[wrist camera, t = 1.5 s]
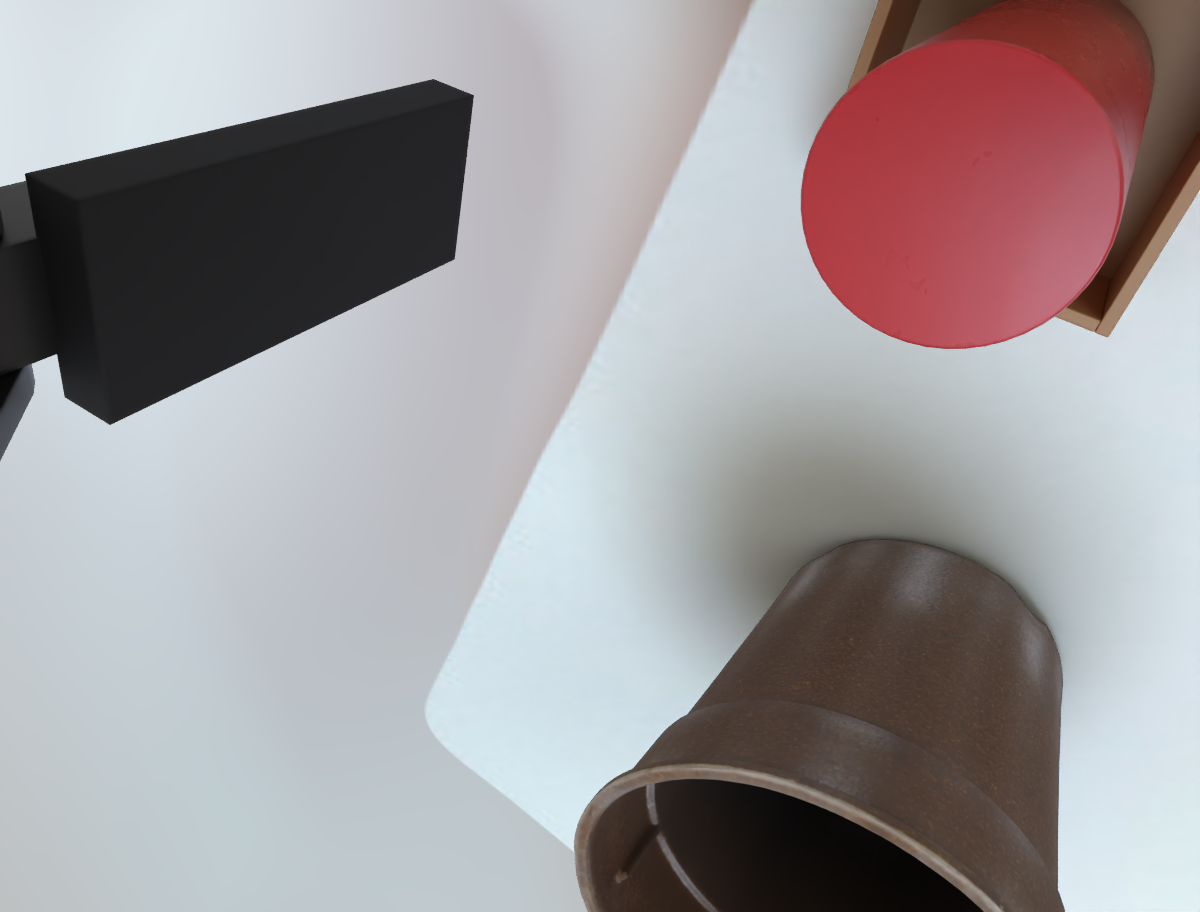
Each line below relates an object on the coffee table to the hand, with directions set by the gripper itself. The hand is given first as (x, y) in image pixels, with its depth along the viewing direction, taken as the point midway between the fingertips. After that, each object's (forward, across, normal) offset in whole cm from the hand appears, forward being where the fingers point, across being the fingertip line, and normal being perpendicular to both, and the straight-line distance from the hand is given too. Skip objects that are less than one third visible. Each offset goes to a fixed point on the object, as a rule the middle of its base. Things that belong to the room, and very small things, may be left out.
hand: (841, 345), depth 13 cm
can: (+21, 0, 0) cm, 21 cm away
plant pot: (+22, +6, -23) cm, 32 cm away
